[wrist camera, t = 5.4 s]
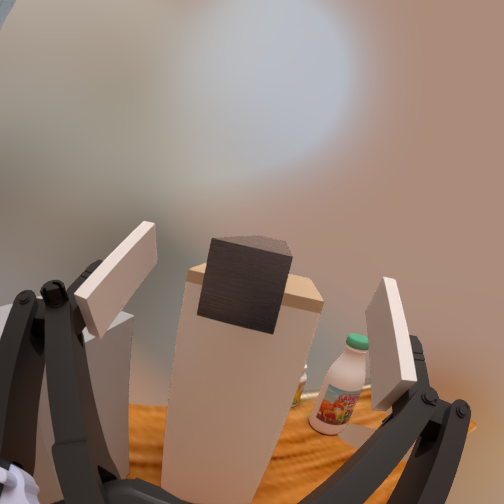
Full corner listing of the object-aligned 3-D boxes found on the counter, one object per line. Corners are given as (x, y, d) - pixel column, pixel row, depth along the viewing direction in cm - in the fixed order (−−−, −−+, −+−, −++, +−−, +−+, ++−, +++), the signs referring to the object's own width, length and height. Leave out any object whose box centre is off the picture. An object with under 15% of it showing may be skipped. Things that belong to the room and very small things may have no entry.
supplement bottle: (301, 400, 58) (314, 364, 57) (292, 410, 53) (306, 373, 52) (280, 391, 60) (291, 356, 59) (269, 401, 55) (281, 363, 55)
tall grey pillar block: (22, 495, 14) (-37, 317, 12) (76, 443, 28) (66, 289, 26) (83, 537, 13) (29, 373, 11) (129, 471, 27) (134, 315, 25)
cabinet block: (160, 492, 25) (188, 269, 23) (185, 442, 37) (220, 257, 35) (244, 515, 24) (324, 301, 22) (253, 460, 36) (310, 278, 34)
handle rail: (196, 315, 13) (212, 237, 12) (253, 261, 38) (259, 235, 38) (273, 334, 12) (292, 256, 12) (279, 267, 38) (285, 241, 38)
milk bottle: (300, 420, 50) (332, 331, 48) (324, 410, 54) (354, 328, 53) (328, 440, 44) (367, 348, 42) (350, 427, 48) (386, 342, 47)
